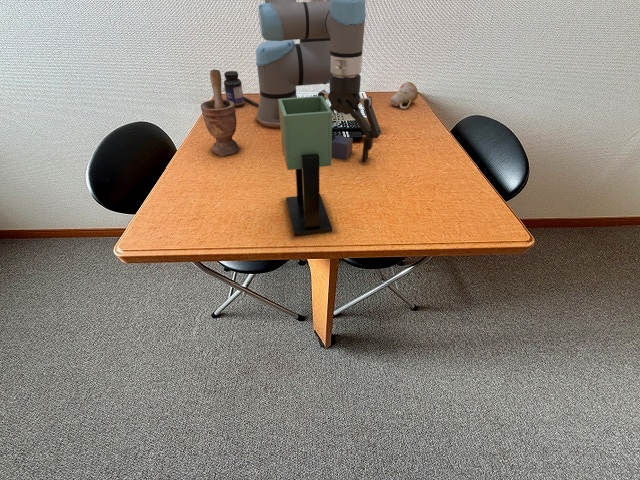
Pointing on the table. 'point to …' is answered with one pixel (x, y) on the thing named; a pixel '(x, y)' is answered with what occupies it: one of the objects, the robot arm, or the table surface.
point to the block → (342, 147)
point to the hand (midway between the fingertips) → (341, 155)
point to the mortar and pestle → (220, 118)
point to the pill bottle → (233, 88)
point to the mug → (405, 95)
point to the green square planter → (305, 130)
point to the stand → (308, 200)
